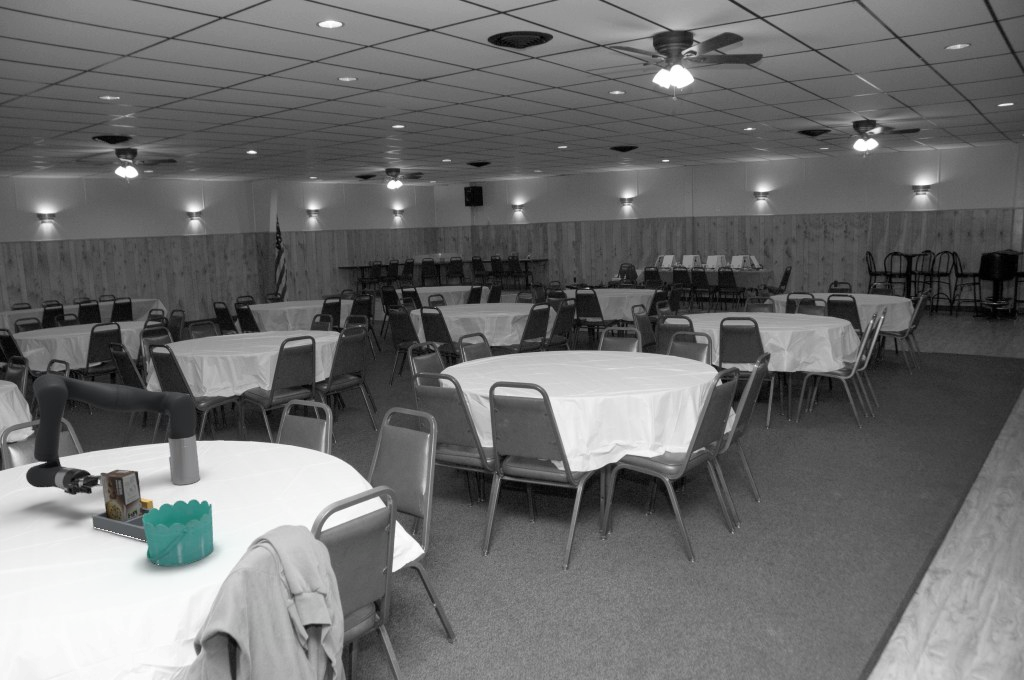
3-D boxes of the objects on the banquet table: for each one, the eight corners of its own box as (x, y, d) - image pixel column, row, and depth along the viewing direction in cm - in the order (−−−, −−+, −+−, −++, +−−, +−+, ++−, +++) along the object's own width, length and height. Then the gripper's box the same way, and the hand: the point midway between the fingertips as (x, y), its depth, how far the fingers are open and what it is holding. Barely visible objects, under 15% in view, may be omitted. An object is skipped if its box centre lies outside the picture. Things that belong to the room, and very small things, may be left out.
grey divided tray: (93, 528, 246) (91, 510, 245) (134, 513, 258) (132, 495, 257) (153, 544, 231) (151, 524, 231) (193, 527, 243) (191, 509, 243)
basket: (213, 562, 217) (208, 518, 215) (141, 572, 212) (136, 527, 210) (218, 536, 235) (214, 495, 233) (152, 546, 230) (147, 504, 228)
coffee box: (144, 519, 249) (139, 470, 247) (128, 527, 243) (122, 477, 241) (122, 517, 252) (117, 468, 250) (106, 524, 246) (100, 475, 244)
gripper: (50, 475, 252) (80, 481, 244) (92, 462, 264) (122, 468, 256) (53, 497, 253) (83, 504, 245) (94, 484, 265) (125, 490, 257)
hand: (103, 486), depth 251 cm, fingers open, 8 cm apart
